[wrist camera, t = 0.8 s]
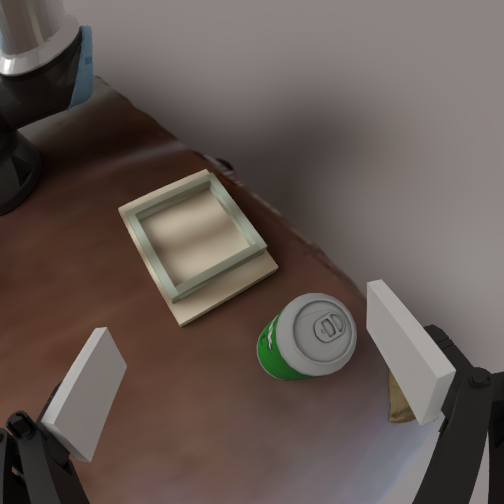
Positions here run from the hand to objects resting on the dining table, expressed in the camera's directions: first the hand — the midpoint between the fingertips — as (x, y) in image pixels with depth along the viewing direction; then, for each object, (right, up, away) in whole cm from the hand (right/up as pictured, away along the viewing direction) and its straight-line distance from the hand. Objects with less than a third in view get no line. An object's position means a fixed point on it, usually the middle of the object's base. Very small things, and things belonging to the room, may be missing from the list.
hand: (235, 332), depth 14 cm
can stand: (-7, +5, +25) cm, 26 cm away
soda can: (+5, -8, +21) cm, 23 cm away
